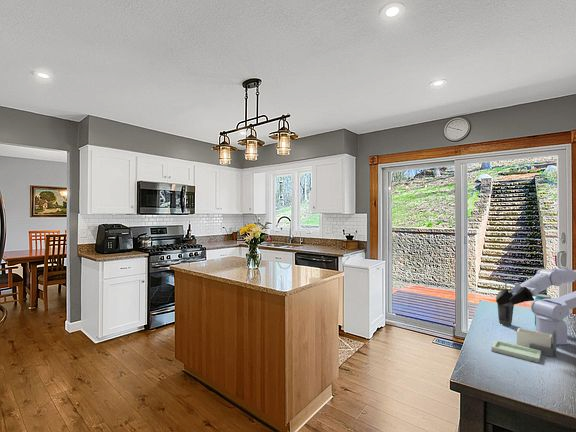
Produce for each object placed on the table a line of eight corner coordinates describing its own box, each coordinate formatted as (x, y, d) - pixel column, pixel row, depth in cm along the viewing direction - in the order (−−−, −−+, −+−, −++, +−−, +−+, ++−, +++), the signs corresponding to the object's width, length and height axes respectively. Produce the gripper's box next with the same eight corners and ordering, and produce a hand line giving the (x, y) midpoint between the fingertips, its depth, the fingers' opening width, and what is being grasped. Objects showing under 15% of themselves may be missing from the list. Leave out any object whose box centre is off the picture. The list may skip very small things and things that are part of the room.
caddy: (551, 350, 115) (551, 334, 115) (551, 355, 111) (551, 338, 111) (518, 343, 121) (518, 327, 121) (516, 347, 118) (516, 331, 118)
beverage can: (554, 332, 133) (555, 297, 133) (539, 331, 134) (539, 296, 134) (546, 327, 139) (546, 294, 139) (531, 326, 140) (532, 293, 140)
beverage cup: (514, 323, 143) (514, 280, 143) (515, 328, 137) (516, 283, 137) (495, 320, 147) (495, 278, 147) (495, 325, 141) (496, 281, 141)
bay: (556, 350, 115) (556, 328, 115) (555, 357, 109) (556, 334, 109) (531, 344, 120) (531, 323, 120) (529, 350, 114) (529, 329, 114)
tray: (540, 354, 111) (541, 350, 111) (539, 363, 104) (539, 358, 104) (495, 343, 120) (495, 340, 120) (491, 350, 114) (491, 346, 114)
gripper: (512, 280, 130) (486, 294, 128) (539, 275, 116) (511, 291, 114) (522, 295, 128) (496, 310, 126) (552, 293, 115) (523, 309, 112)
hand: (504, 302), depth 120 cm, fingers open, 7 cm apart
